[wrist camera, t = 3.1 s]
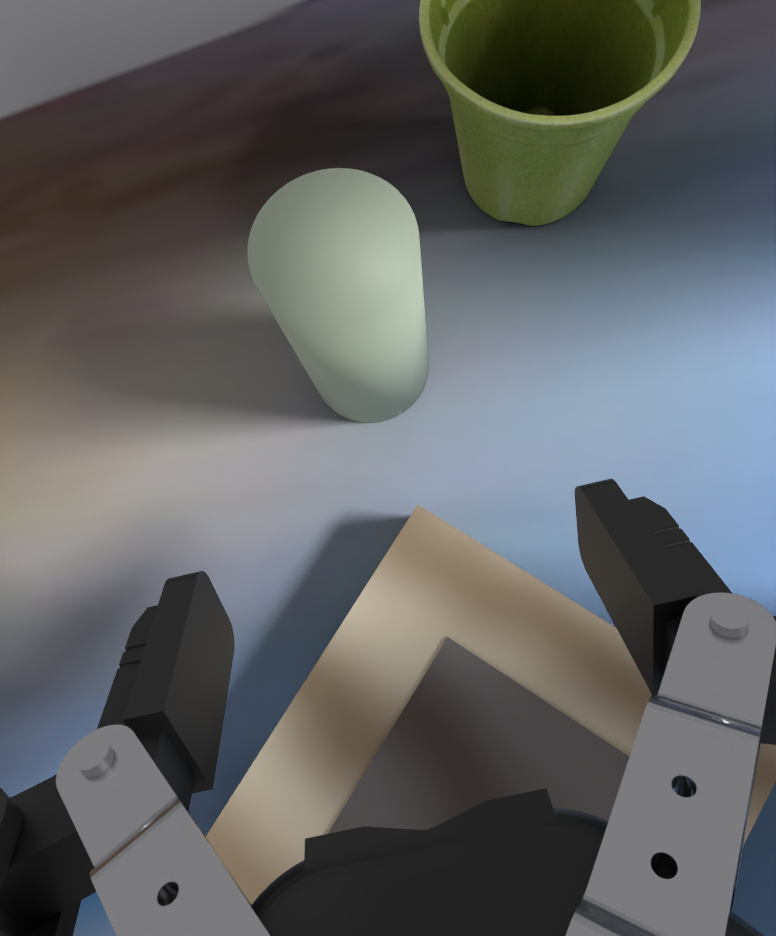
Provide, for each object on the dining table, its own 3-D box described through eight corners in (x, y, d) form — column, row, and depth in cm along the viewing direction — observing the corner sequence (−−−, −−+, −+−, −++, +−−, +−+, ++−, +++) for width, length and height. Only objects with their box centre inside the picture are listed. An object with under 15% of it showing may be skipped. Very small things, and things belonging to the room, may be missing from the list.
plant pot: (503, 299, 29) (526, 172, 21) (389, 154, 31) (368, -14, 23) (671, 190, 29) (761, 22, 21) (548, 55, 32) (585, -148, 23)
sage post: (354, 294, 30) (310, 141, 20) (450, 348, 29) (452, 214, 19) (291, 385, 29) (213, 273, 19) (388, 444, 28) (356, 356, 18)
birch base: (420, 515, 27) (417, 503, 24) (755, 724, 24) (799, 741, 21) (216, 837, 25) (184, 868, 22) (555, 1105, 22) (572, 1184, 19)
